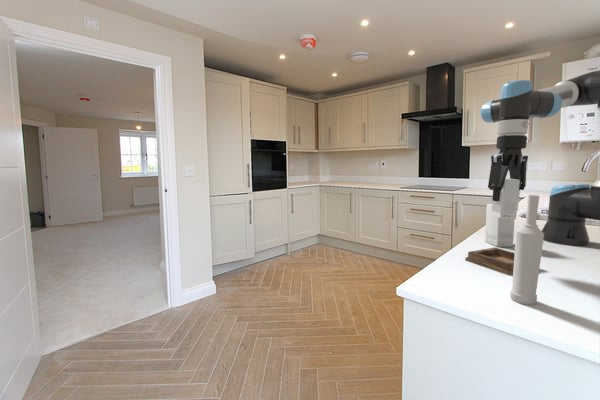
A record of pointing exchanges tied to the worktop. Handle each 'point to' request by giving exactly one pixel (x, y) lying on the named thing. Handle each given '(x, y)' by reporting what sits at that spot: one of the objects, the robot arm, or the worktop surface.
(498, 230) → the skincare box
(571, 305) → the worktop surface
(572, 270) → the worktop surface
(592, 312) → the worktop surface
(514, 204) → the skincare box
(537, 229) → the bottle
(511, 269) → the brown square tray
